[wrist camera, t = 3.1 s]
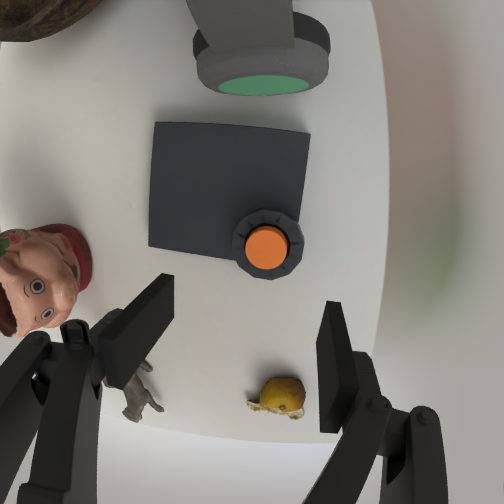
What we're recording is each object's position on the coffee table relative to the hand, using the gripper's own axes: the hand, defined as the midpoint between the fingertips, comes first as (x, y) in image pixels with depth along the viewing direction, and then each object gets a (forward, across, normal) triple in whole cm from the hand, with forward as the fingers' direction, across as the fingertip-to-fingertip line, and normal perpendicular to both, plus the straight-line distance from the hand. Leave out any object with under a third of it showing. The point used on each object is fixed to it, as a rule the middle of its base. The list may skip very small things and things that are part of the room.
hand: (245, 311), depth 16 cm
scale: (+15, -5, +4) cm, 17 cm away
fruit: (+16, +4, -22) cm, 27 cm away
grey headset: (+16, -3, +23) cm, 28 cm away
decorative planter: (+16, -28, -7) cm, 33 cm away
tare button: (+12, 0, 0) cm, 12 cm away
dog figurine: (+16, -16, -24) cm, 33 cm away
